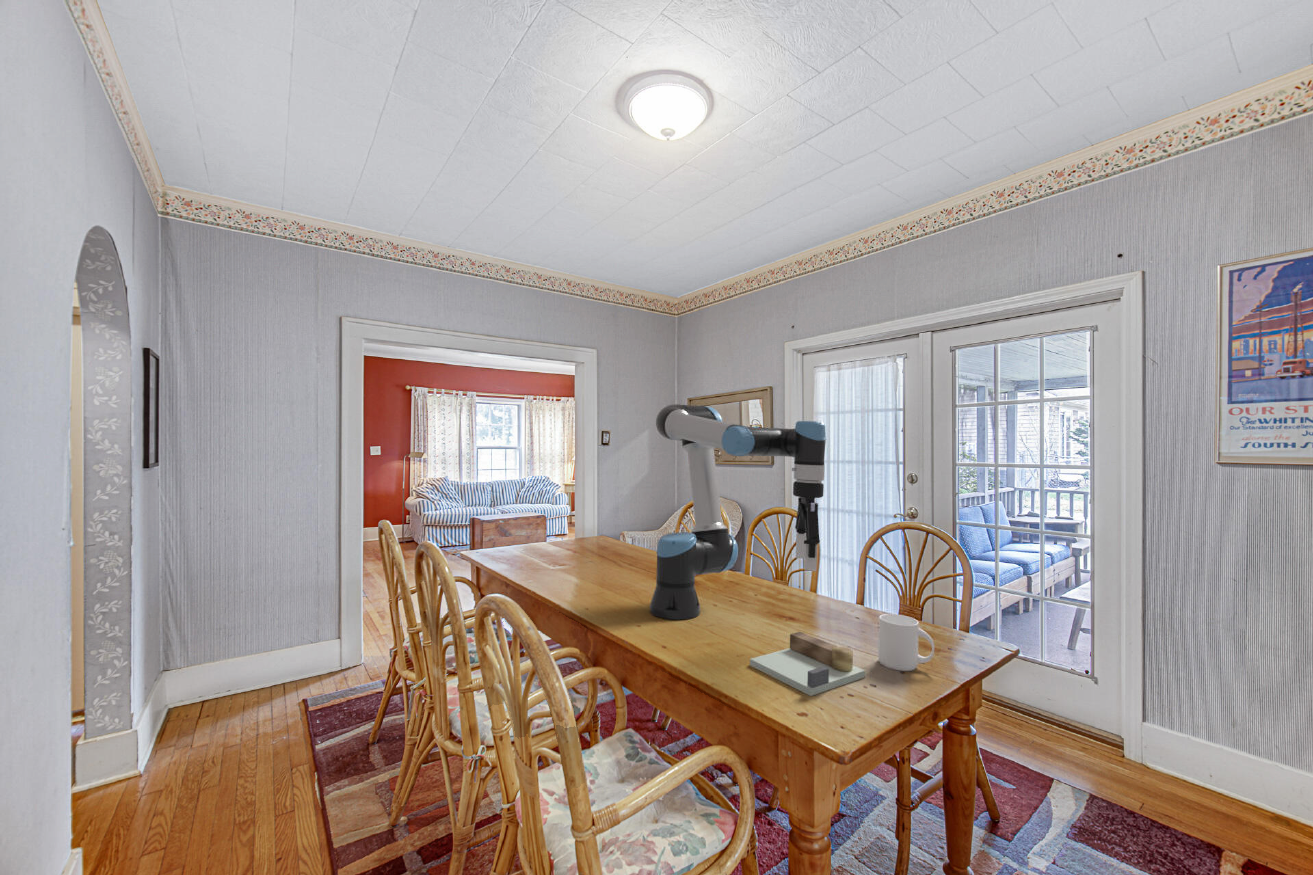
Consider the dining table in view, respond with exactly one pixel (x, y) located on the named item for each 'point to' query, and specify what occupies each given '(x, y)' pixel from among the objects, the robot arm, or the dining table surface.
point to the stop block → (818, 677)
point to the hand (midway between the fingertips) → (805, 564)
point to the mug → (900, 642)
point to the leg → (822, 651)
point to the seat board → (802, 670)
